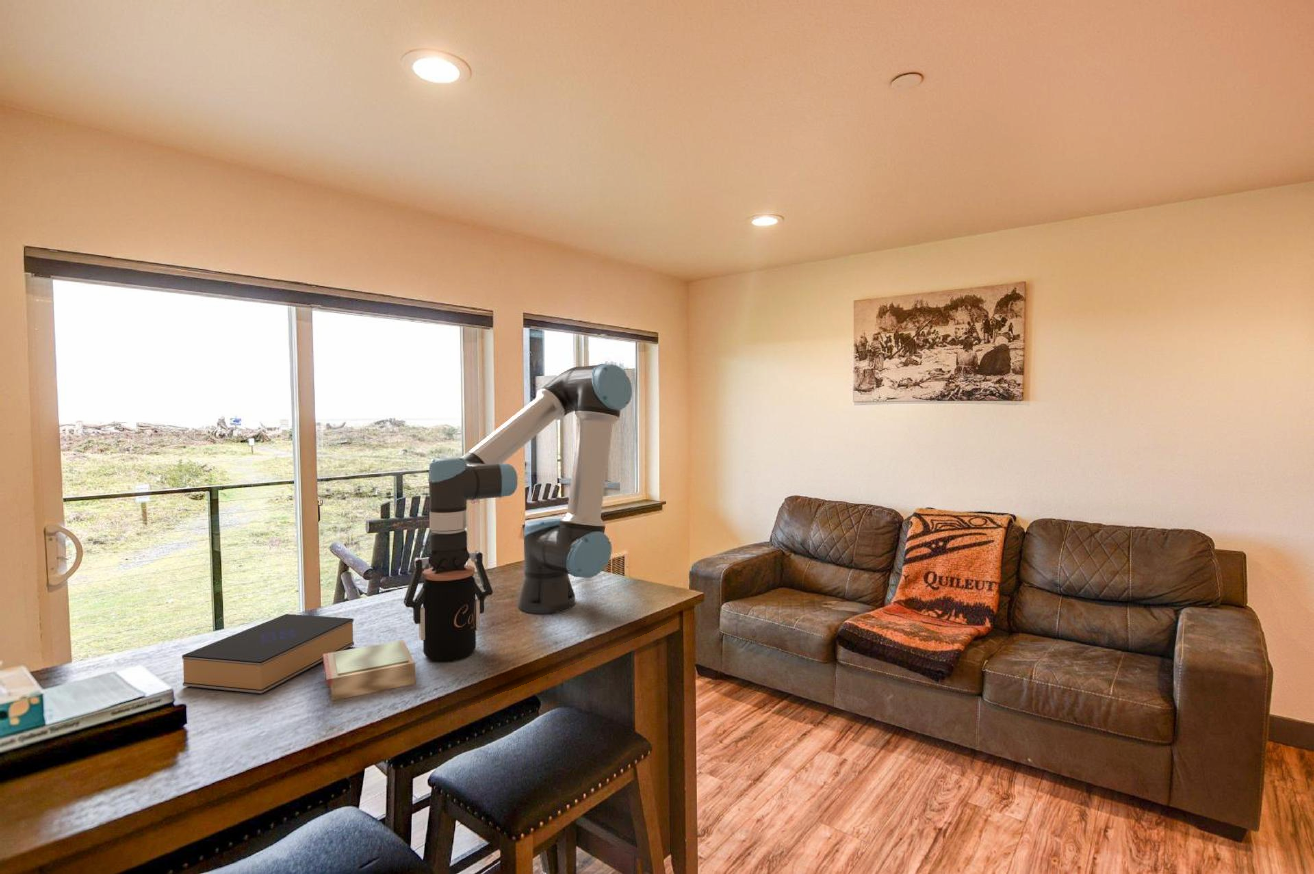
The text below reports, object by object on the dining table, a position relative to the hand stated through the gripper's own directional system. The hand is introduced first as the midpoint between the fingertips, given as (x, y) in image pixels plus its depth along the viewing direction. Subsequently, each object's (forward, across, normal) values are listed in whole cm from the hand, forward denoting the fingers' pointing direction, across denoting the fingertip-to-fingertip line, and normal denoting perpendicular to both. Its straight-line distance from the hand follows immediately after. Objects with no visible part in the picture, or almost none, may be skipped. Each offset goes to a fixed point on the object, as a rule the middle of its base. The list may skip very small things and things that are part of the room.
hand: (449, 633), depth 133 cm
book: (+5, +32, -12) cm, 35 cm away
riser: (+4, +16, +5) cm, 17 cm away
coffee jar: (+5, 0, 0) cm, 5 cm away
